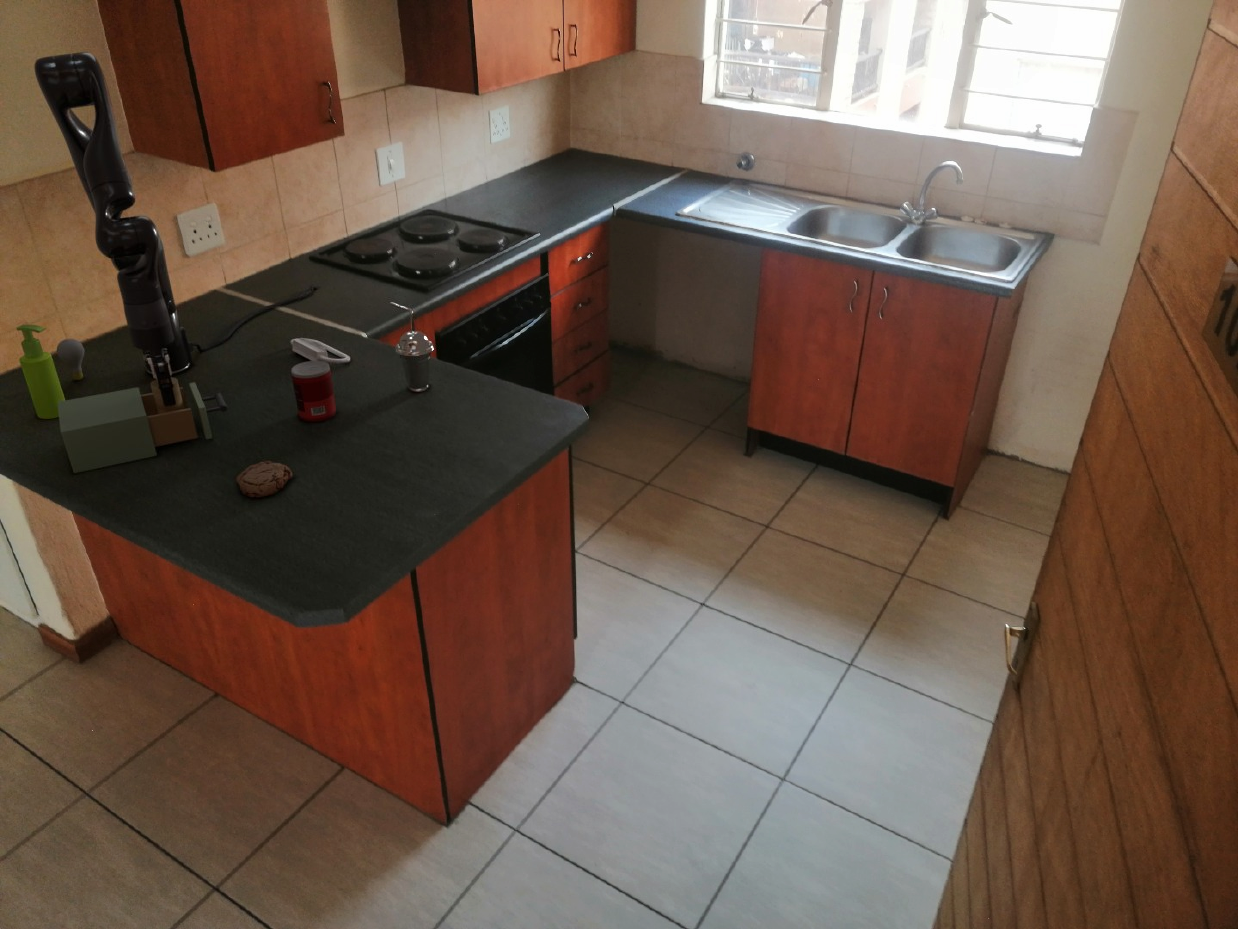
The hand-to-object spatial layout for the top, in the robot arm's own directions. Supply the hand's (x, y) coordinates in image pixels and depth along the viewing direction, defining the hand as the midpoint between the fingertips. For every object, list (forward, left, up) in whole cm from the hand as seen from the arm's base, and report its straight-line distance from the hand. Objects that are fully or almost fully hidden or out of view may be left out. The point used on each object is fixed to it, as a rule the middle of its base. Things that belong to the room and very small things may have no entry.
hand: (168, 398), depth 190 cm
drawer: (-1, +1, -7) cm, 8 cm away
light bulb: (-5, -43, -9) cm, 44 cm away
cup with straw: (-44, +26, -9) cm, 52 cm away
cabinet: (+11, -6, -8) cm, 15 cm away
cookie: (+4, +31, -9) cm, 32 cm away
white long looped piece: (-45, -7, -9) cm, 47 cm away
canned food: (-22, +17, -9) cm, 29 cm away
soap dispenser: (+8, -31, -9) cm, 33 cm away
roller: (0, 0, -6) cm, 6 cm away
